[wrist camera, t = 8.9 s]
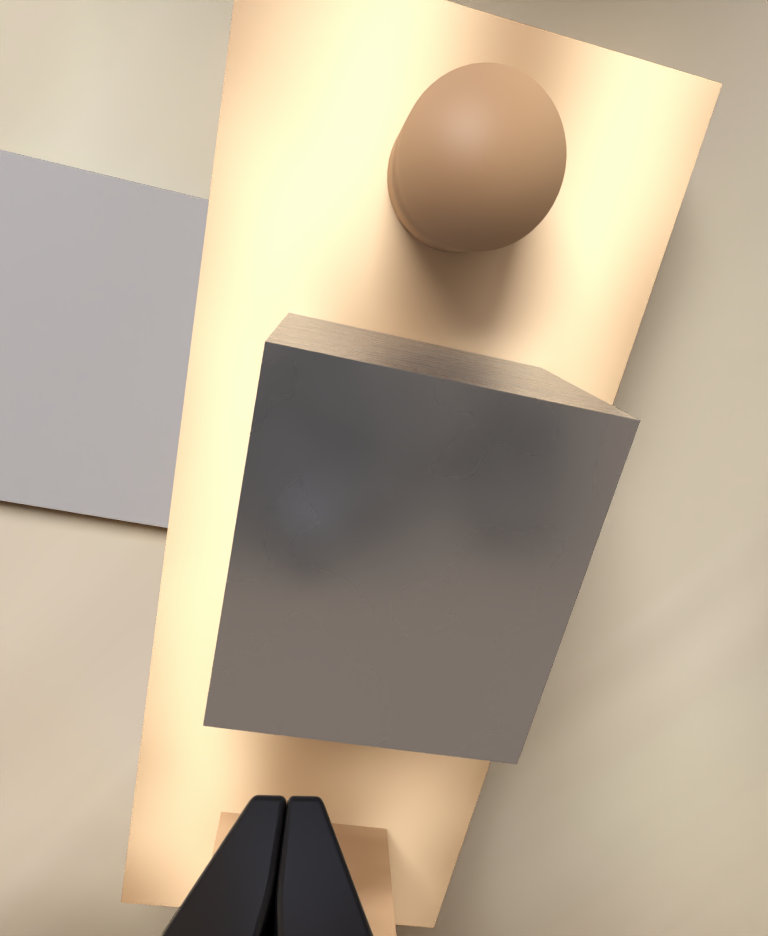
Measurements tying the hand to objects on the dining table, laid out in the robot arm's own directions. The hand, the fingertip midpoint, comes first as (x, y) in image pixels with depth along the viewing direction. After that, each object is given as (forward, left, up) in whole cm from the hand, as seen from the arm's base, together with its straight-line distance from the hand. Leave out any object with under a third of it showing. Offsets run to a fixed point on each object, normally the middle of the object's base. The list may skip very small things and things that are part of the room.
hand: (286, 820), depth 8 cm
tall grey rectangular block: (-2, -2, -8) cm, 9 cm away
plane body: (-2, +1, -11) cm, 12 cm away
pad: (+7, -3, -11) cm, 14 cm away
